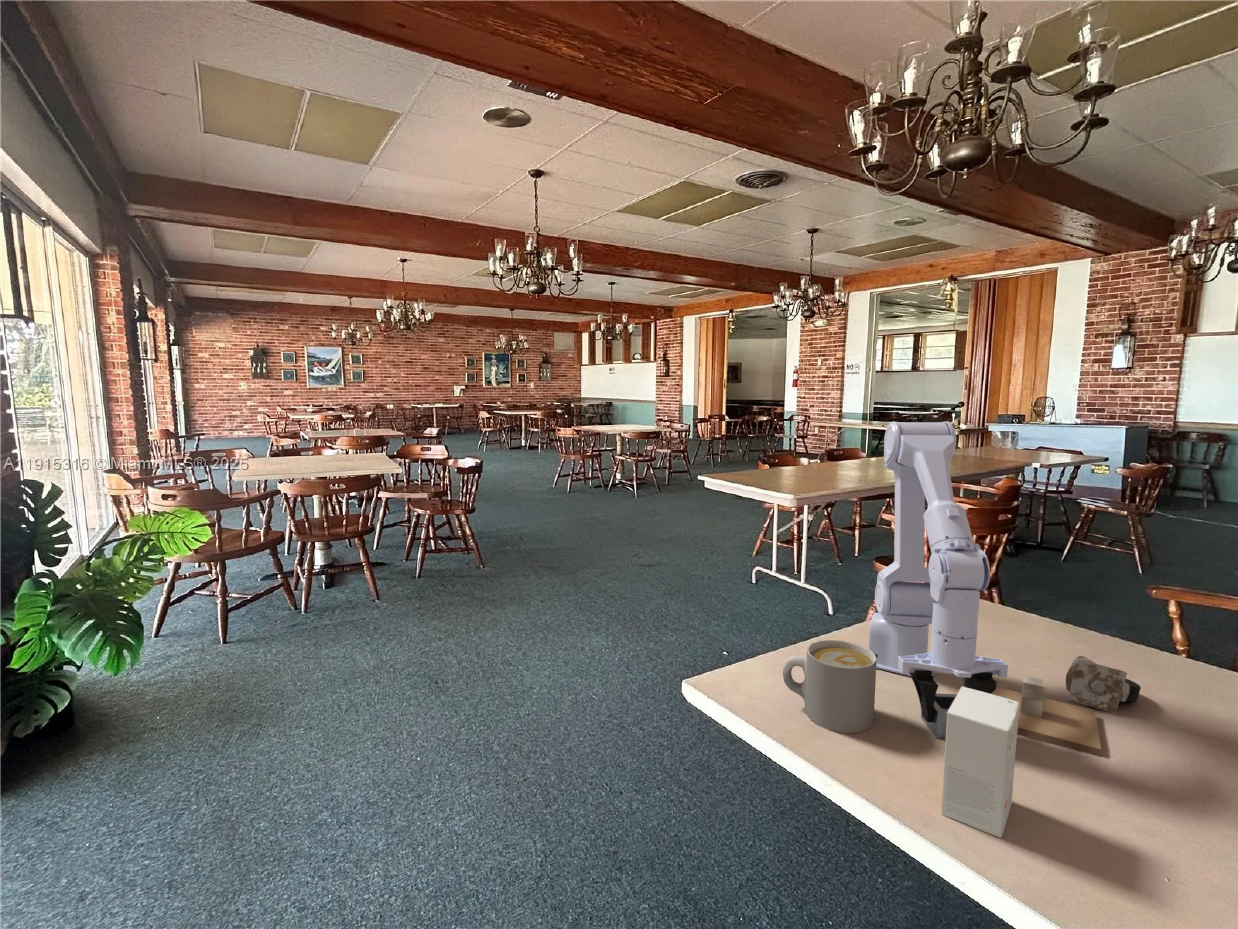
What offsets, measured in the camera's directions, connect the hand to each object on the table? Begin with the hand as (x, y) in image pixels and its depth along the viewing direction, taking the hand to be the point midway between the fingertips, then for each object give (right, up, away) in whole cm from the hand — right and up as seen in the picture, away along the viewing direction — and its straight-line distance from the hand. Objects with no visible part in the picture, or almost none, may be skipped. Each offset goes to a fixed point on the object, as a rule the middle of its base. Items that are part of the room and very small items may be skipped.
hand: (948, 719), depth 89 cm
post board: (+14, -1, +3) cm, 14 cm away
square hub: (0, -1, 0) cm, 1 cm away
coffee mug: (-16, -1, +5) cm, 17 cm away
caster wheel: (+29, 0, +9) cm, 30 cm away
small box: (-6, -4, -16) cm, 18 cm away
